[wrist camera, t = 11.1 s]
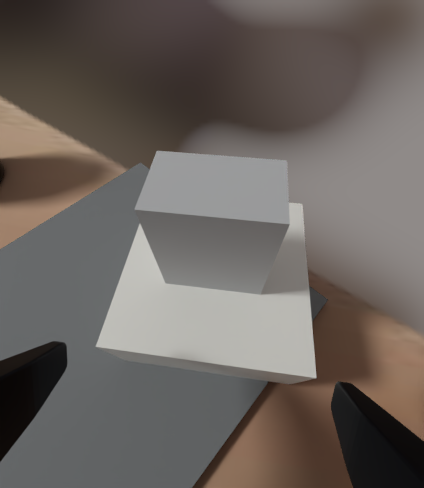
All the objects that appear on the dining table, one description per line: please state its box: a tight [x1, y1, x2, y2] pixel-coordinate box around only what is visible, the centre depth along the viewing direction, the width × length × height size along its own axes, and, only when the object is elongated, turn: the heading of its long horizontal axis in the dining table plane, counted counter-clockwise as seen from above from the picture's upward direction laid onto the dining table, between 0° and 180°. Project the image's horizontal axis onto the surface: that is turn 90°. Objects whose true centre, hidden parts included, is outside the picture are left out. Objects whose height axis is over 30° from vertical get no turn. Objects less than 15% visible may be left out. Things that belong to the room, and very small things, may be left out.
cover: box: [96, 151, 317, 384], centre depth 13 cm, size 10×10×10 cm
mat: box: [0, 163, 328, 488], centre depth 17 cm, size 21×23×1 cm
